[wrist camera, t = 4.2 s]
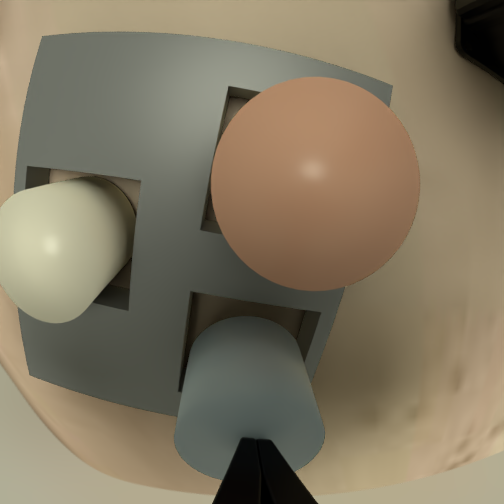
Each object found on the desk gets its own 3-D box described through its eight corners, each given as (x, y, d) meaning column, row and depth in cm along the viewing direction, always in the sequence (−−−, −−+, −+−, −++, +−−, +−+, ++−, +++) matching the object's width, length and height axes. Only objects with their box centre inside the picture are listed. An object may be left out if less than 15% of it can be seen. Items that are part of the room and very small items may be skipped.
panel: (372, 93, 11) (392, 85, 9) (286, 405, 15) (291, 429, 14) (63, 47, 10) (42, 36, 8) (44, 355, 14) (29, 375, 12)
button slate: (314, 324, 11) (346, 399, 7) (285, 408, 12) (299, 484, 9) (196, 306, 11) (179, 381, 7) (184, 395, 12) (171, 473, 8)
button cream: (143, 183, 11) (103, 199, 8) (132, 286, 13) (97, 337, 9) (51, 170, 11) (-10, 182, 7) (47, 267, 12) (-4, 305, 8)
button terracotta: (366, 126, 9) (436, 116, 6) (336, 250, 10) (387, 303, 7) (235, 93, 9) (236, 54, 5) (209, 226, 10) (193, 271, 6)
